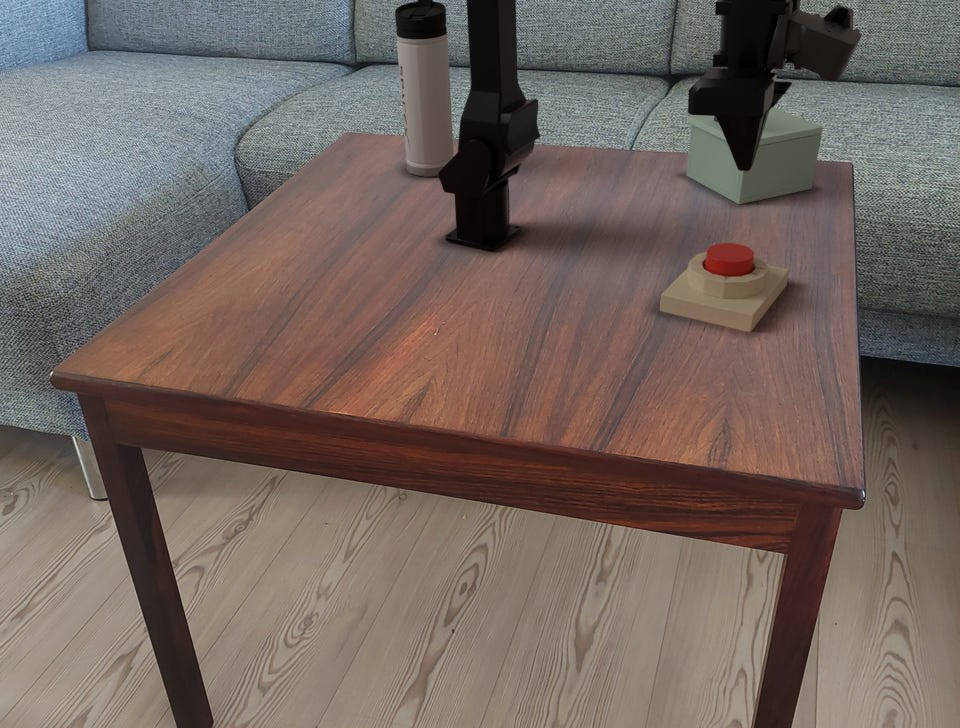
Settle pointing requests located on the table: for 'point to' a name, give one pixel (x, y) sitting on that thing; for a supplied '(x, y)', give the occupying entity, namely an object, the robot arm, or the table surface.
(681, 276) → the control block
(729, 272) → the power button
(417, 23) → the travel mug
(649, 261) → the table surface
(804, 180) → the green lidded box
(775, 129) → the lid
